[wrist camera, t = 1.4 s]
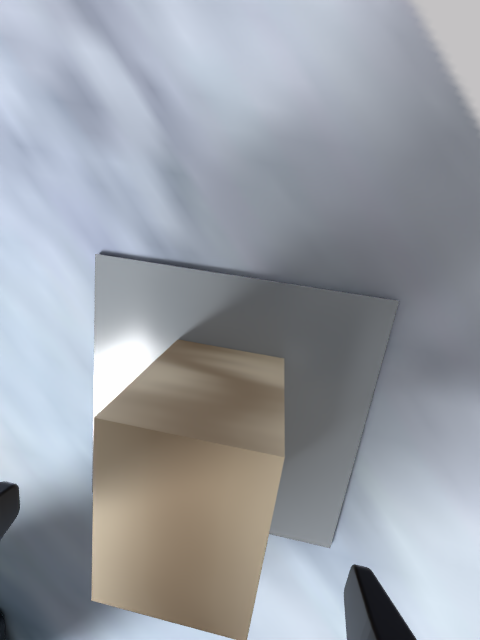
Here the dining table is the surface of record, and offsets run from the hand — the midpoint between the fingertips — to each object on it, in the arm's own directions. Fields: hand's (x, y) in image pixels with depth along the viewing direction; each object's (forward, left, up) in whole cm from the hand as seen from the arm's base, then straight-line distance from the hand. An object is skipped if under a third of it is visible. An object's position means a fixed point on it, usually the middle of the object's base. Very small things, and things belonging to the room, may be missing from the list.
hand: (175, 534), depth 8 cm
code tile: (0, 0, -6) cm, 6 cm away
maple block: (0, 0, -6) cm, 6 cm away
